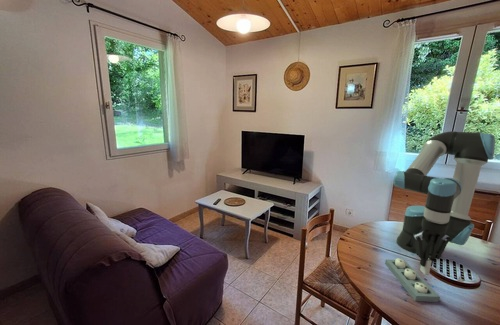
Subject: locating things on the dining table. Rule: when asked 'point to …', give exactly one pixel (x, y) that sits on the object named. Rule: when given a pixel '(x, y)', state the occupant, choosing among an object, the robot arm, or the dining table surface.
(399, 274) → the button board
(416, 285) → the button
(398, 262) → the button
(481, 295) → the dining table surface
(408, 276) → the button
